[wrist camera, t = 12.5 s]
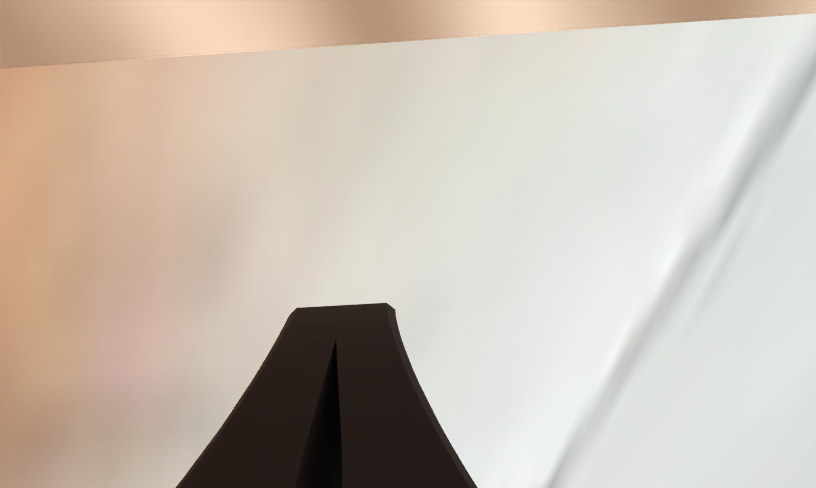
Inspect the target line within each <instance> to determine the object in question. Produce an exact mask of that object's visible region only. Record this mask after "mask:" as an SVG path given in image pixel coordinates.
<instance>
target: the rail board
mask: <svg viewBox="0 0 816 488" xmlns="http://www.w3.org/2000/svg"><path fill="white" fill-rule="evenodd" d="M811 13H816V0H0V69H3V68H18V67H33V66H47V65H62V64H77V63H91V62H106V61H121V60H136V59H150V58H165V57H180V56H194V55H209V54H224V53H238V52H253V51H268V50H282V49H297V48H312V47H326V46H341V45H356V44H371V43H385V42H400V41H415V40H429V39H444V38H459V37H473V36H488V35H503V34H517V33H532V32H547V31H561V30H576V29H591V28H606V27H620V26H635V25H650V24H664V23H679V22H694V21H708V20H723V19H738V18H752V17H767V16H782V15H796V14H811Z"/></svg>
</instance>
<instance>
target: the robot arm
mask: <svg viewBox="0 0 816 488" xmlns="http://www.w3.org/2000/svg"><path fill="white" fill-rule="evenodd" d="M176 488H477V486H476V485H475V483H474V481H473V480H472V478H471V477H470V475H469V474H468V472H467V470H466V469H465V467H464V465H463V464H462V462H461V460H460V459H459V457H458V455H457V454H456V452H455V450H454V449H453V447H452V445H451V444H450V442H449V440H448V438H447V437H446V435H445V433H444V431H443V429H442V427H441V426H440V424H439V422H438V420H437V418H436V416H435V414H434V412H433V410H432V408H431V406H430V404H429V402H428V400H427V398H426V396H425V394H424V392H423V390H422V388H421V386H420V384H419V382H418V380H417V377H416V375H415V373H414V371H413V368H412V366H411V363H410V361H409V358H408V356H407V353H406V351H405V348H404V345H403V342H402V339H401V336H400V333H399V329H398V325H397V320H396V315H395V309H394V308H392V307H391V306H390V305H389V304H387V303H377V304H359V305H341V306H323V307H305V308H296V309H295V310H294V311H293V312H292V313H291V314H290V315H289V317H288V319H287V321H286V323H285V325H284V327H283V329H282V331H281V333H280V334H279V336H278V338H277V340H276V342H275V343H274V345H273V347H272V349H271V350H270V352H269V354H268V356H267V357H266V359H265V360H264V362H263V364H262V365H261V367H260V369H259V370H258V372H257V374H256V375H255V377H254V379H253V380H252V382H251V383H250V385H249V386H248V388H247V389H246V391H245V392H244V394H243V395H242V397H241V398H240V400H239V401H238V403H237V404H236V406H235V407H234V409H233V410H232V412H231V413H230V415H229V417H228V418H227V419H226V421H225V422H224V424H223V425H222V427H221V428H220V429H219V431H218V432H217V434H216V435H215V436H214V438H213V439H212V440H211V442H210V443H209V444H208V446H207V447H206V448H205V450H204V451H203V452H202V454H201V455H200V456H199V458H198V459H197V460H196V462H195V463H194V464H193V466H192V467H191V468H190V470H189V471H188V472H187V474H186V475H185V477H184V478H183V479H182V480H181V482H180V483H179V484H178V485H177V487H176Z"/></svg>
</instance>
